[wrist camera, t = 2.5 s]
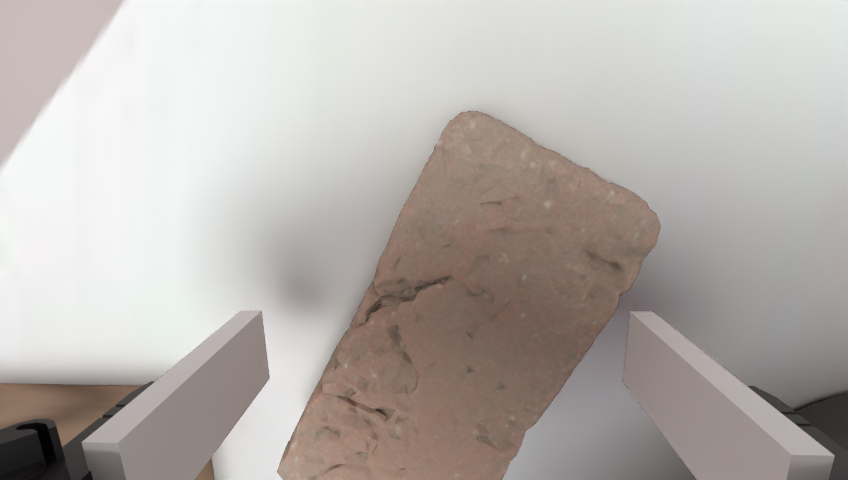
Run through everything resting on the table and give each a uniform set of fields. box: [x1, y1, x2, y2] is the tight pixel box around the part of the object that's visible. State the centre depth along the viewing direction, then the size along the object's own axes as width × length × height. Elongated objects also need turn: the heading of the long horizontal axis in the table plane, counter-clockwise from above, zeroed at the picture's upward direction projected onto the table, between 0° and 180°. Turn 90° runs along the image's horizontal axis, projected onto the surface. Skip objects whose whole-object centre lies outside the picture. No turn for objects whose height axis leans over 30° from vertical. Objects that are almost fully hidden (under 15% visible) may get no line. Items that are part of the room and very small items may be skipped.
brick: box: [277, 111, 660, 480], centre depth 17 cm, size 17×8×5 cm, turn 154°
